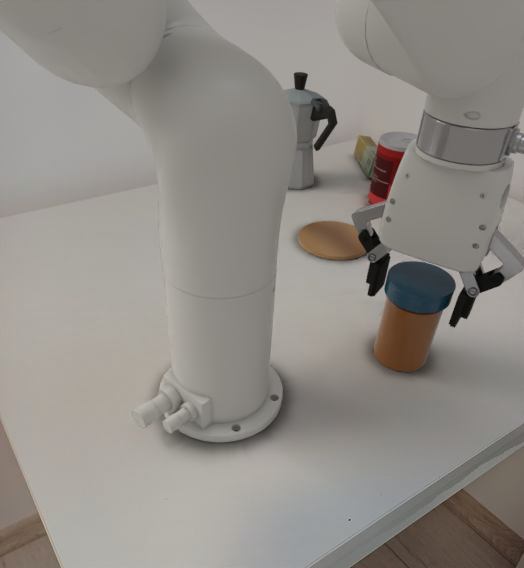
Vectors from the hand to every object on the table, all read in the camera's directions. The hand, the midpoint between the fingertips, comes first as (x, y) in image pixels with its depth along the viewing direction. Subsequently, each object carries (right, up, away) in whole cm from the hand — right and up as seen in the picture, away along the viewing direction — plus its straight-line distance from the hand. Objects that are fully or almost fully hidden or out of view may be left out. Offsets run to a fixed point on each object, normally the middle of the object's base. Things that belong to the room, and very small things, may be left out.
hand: (414, 304), depth 55 cm
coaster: (-5, +12, +24) cm, 27 cm away
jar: (0, -5, +5) cm, 7 cm away
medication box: (+5, +31, +47) cm, 57 cm away
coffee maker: (-10, +26, +40) cm, 49 cm away
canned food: (+6, +21, +35) cm, 41 cm away
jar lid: (0, +2, -2) cm, 3 cm away
